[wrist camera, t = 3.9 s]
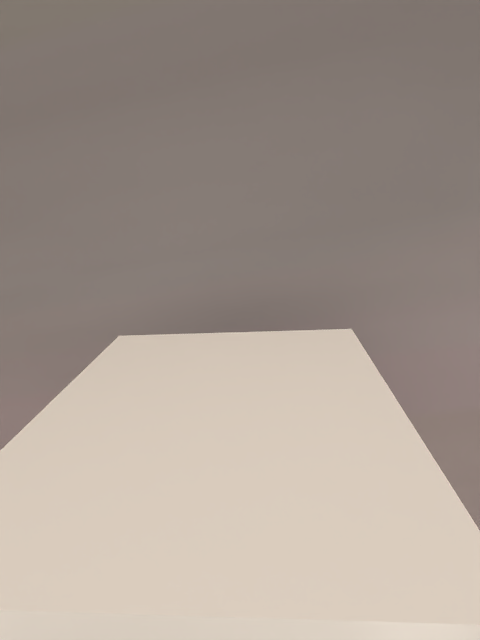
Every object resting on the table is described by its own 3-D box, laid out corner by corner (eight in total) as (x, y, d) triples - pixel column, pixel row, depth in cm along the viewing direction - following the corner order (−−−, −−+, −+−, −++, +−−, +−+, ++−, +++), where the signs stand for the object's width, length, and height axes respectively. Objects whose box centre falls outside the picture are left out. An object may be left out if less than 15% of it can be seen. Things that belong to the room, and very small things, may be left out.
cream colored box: (344, 516, 13) (449, 952, 5) (148, 515, 13) (5, 909, 6) (351, 328, 11) (540, 626, 3) (119, 335, 11) (-160, 605, 4)
